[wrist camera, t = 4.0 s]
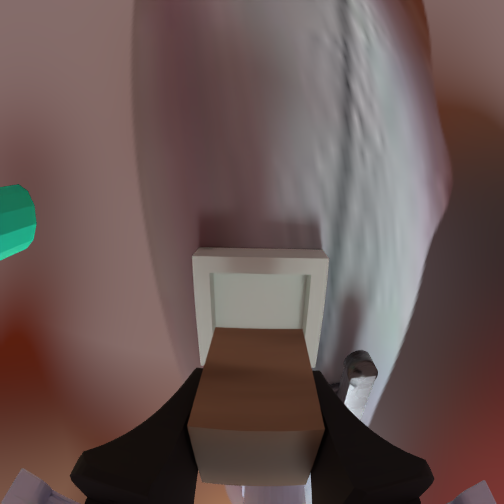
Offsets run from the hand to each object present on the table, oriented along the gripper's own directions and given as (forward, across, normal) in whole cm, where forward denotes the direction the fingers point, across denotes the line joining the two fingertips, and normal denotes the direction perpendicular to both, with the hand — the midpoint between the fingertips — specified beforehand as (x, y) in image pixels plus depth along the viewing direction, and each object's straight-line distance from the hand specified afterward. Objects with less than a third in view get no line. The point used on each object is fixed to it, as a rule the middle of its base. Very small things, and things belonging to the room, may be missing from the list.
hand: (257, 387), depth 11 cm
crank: (+7, -7, +7) cm, 12 cm away
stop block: (+2, 0, 0) cm, 2 cm away
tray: (+8, 0, 0) cm, 8 cm away
